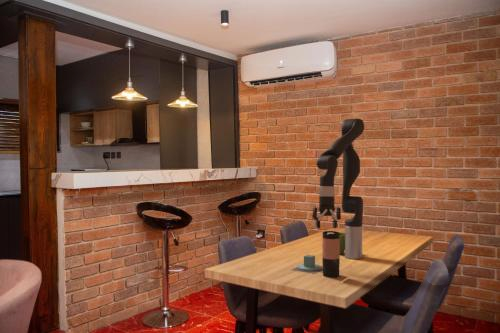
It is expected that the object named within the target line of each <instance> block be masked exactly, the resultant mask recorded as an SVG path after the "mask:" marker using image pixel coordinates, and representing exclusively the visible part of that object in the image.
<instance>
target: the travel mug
mask: <svg viewBox="0 0 500 333" xmlns="http://www.w3.org/2000/svg"><path fill="white" fill-rule="evenodd" d="M339 232H340V231H336V230H334V231H333V230H325V231H322V241H321V242H322V250H321V251H322V252H321V253H322V254H321V256H322V257H321V258H322V266H323V270H322V276H323V277H325V278H329V279H331V278H332V279H334V278H336V279H337V278H339V277H340V261H341V259H340V257H341V256H340V255H341V254H340V240H339Z"/></svg>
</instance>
